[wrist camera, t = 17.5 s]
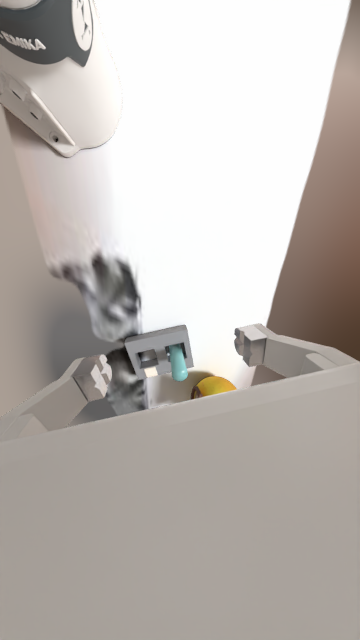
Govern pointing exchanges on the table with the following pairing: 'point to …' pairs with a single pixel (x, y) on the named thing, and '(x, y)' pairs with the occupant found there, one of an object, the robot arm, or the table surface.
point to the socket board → (157, 350)
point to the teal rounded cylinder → (177, 363)
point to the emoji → (211, 387)
